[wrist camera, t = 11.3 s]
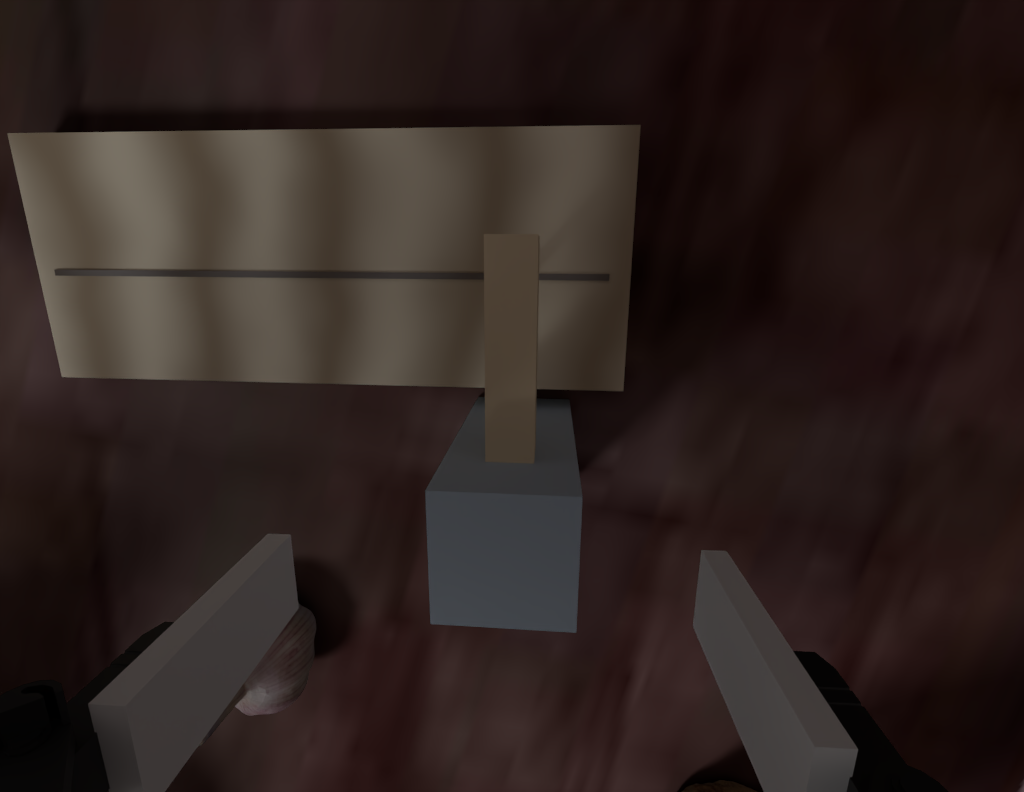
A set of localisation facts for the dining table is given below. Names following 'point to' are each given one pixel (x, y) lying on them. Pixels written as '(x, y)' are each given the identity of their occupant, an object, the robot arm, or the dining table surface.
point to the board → (327, 250)
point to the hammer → (508, 475)
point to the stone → (718, 787)
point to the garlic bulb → (278, 671)
